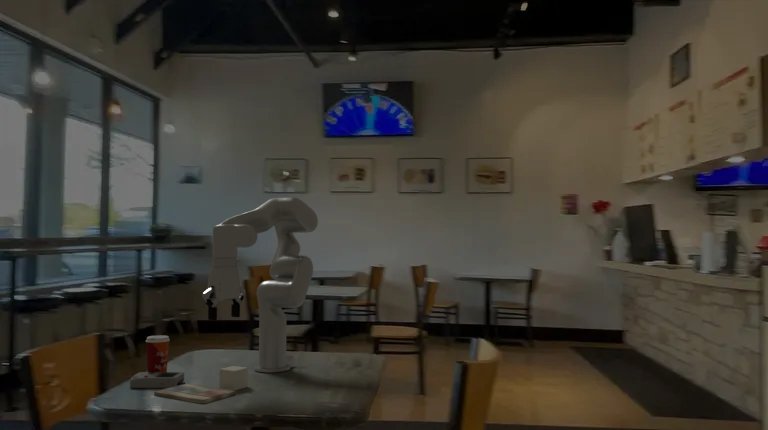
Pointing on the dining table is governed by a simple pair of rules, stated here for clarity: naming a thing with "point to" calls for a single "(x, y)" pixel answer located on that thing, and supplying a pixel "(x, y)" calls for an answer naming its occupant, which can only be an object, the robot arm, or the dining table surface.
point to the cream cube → (233, 378)
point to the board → (195, 393)
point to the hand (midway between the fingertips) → (224, 318)
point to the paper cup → (157, 353)
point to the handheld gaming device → (156, 379)
